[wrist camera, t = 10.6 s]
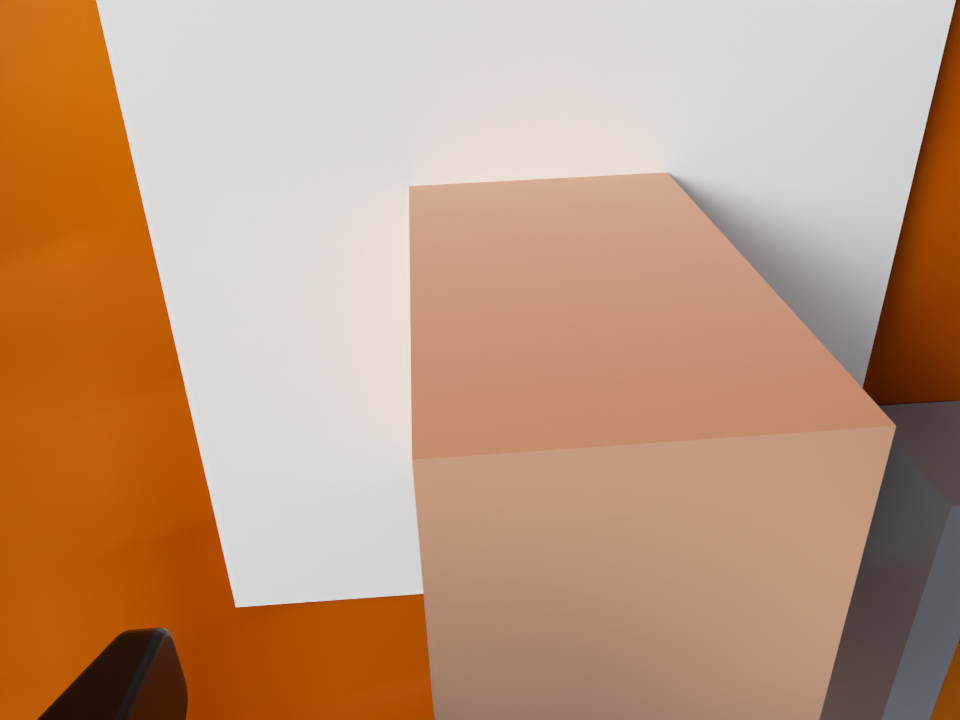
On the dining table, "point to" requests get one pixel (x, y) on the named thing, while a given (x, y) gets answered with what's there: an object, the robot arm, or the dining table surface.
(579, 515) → the block
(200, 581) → the dining table surface
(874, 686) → the grey tray
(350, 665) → the dining table surface
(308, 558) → the white flat square slab
